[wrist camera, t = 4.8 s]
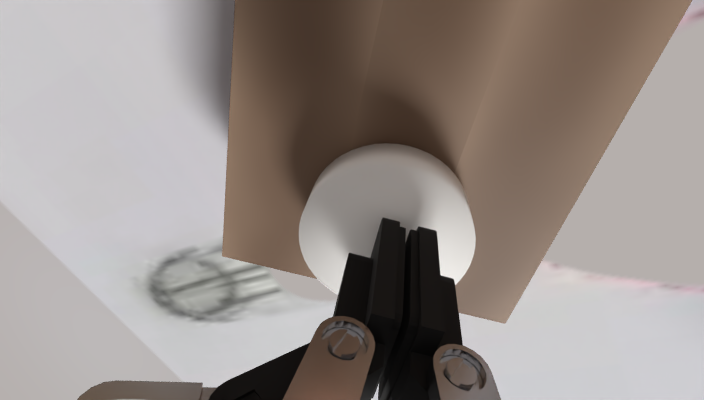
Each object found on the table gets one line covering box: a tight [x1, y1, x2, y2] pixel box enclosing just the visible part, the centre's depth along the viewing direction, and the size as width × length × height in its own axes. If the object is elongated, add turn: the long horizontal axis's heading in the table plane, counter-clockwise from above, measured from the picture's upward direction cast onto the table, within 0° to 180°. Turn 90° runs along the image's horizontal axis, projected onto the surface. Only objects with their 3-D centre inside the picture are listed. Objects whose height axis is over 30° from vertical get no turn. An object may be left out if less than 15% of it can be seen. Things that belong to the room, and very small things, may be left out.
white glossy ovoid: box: [299, 143, 476, 295], centre depth 16 cm, size 6×6×8 cm
